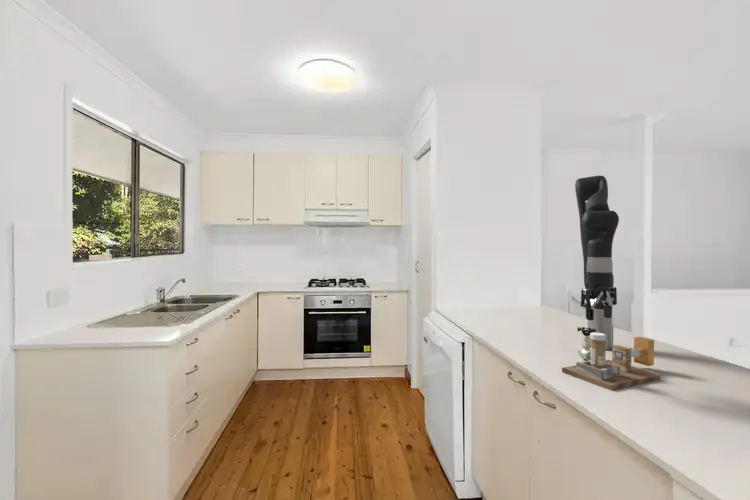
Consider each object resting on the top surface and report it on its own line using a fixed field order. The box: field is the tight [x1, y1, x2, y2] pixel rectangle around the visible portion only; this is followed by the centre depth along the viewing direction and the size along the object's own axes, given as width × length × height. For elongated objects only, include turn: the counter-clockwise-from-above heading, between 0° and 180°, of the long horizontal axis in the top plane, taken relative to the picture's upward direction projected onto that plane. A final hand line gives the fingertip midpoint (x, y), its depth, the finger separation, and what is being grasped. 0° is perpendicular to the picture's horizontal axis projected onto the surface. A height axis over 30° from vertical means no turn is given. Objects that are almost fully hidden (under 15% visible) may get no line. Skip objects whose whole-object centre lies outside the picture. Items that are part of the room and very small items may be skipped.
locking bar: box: [616, 336, 655, 367], centre depth 134 cm, size 15×5×9 cm, turn 113°
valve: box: [576, 326, 596, 361], centre depth 148 cm, size 7×7×12 cm
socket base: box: [561, 344, 661, 391], centre depth 129 cm, size 24×18×9 cm
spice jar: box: [590, 332, 607, 369], centre depth 127 cm, size 5×5×14 cm
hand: (598, 318), depth 127 cm, fingers open, 8 cm apart
